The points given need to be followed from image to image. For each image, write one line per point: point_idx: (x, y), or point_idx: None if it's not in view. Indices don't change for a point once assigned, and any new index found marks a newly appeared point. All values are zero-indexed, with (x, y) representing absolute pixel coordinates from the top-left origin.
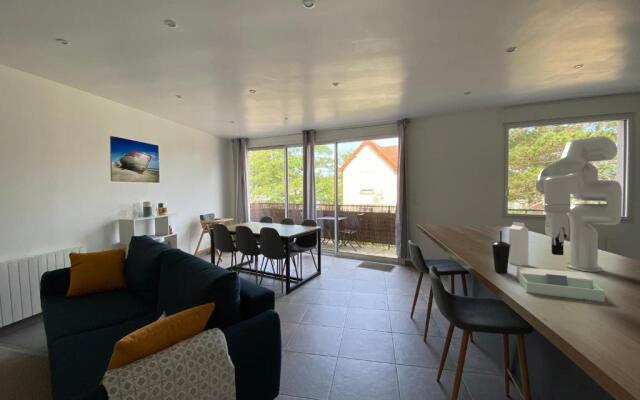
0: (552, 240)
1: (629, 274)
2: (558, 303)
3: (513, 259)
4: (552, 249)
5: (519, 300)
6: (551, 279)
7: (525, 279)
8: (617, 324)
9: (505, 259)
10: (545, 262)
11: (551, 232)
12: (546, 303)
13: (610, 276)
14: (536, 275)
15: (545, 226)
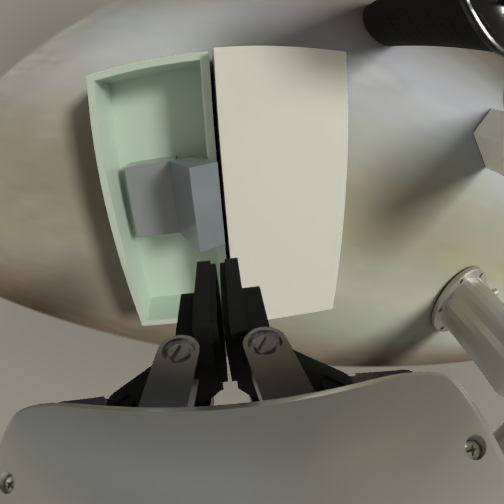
0: (250, 367)
1: (415, 360)
2: (49, 179)
3: (498, 121)
4: (207, 286)
5: (19, 73)
6: (180, 181)
7: (137, 67)
8: (10, 282)
9: (407, 17)
10: (500, 224)
11: (16, 481)
12: (30, 146)
13: (403, 337)
14: (218, 119)
15: (482, 489)
